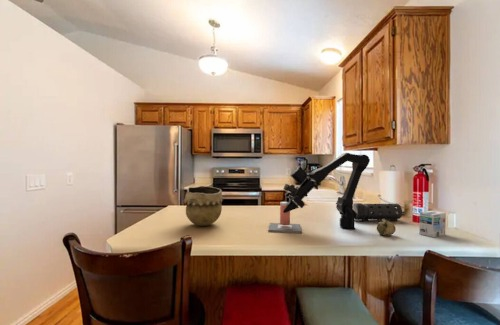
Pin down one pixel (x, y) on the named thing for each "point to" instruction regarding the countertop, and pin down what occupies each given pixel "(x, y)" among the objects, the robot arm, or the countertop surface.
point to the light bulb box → (432, 223)
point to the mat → (285, 228)
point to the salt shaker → (284, 214)
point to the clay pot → (203, 204)
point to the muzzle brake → (377, 211)
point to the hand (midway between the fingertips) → (282, 211)
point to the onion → (385, 228)
